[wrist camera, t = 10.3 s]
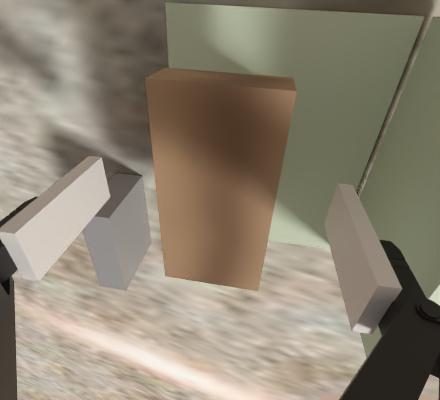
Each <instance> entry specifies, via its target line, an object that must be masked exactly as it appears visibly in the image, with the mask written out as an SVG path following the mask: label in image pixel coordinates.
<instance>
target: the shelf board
mask: <svg viewBox="0 0 440 400" xmlns="http://www.w3.org/2000/svg"><path fill="white" fill-rule="evenodd" d="M145 87H146V96H147V106H148V115H149V125H150V134H151V144H152V153H153V163H154V173H155V182H156V192H157V201H158V211H159V220H160V230H161V239H162V249H163V258H164V268H165V276H168V277H174V278H180V279H186V280H192V281H199V282H205V283H211V284H217V285H223V286H230V287H236V288H242V289H248V290H254V291H258V288H259V283H260V278H261V273H262V267H263V262H264V257H265V252H266V247H267V242H268V237H269V232H270V226H271V221H272V216H273V211H274V206H275V201H276V196H277V190H278V185H279V180H280V175H281V170H282V165H283V160H284V155H285V149H286V144H287V139H288V134H289V129H290V124H291V119H292V114H293V108H294V103H295V98H296V93H297V90H296V86H295V83H294V79H293V78H291V77H278V76H266V75H253V74H240V73H228V72H215V71H202V70H190V69H177V68H163V69H161V70H159V71H157V72H155V73H154V74H152V75H150V76H148V77H146V78H145Z"/></svg>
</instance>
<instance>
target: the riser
mask: <svg viewBox="0 0 440 400" xmlns="http://www.w3.org/2000/svg"><path fill="white" fill-rule="evenodd" d="M107 184H108V188H109V193H110V198H109V199H108V200H107V202H106V203H105V204H104V205H103V206H102V208H101V209H100V210H99V211H98V212H97V213H96V215H95V216H94V217H93V218H92V219H91V220H90V222H89V223H88V224H87V225H86V226H85V228H84V229H83V230H82V231H83V234H84V237H85V241H86V244H87V247H88V250H89V253H90V256H91V259H92V262H93V266H94V269H95V272H96V275H97V278H98V281H99V284H100V286H103V287H109V288H115V289H121V290H127V288H128V286H129V284H130V282H131V280H132V278H133V277H134V275H135V273H136V271H137V269H138V267H139V265H140V263H141V261H142V259H143V257H144V256H145V254H146V252H147V250H148V248H149V246H150V244H151V238H150V230H149V223H148V215H147V208H146V201H145V193H144V186H143V178H142V176H138V175H130V174H122V173H116V174H115V175H114V176H113V177H112V178H111V179H110V180H109V181H108V182H107Z"/></svg>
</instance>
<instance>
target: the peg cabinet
mask: <svg viewBox="0 0 440 400" xmlns="http://www.w3.org/2000/svg"><path fill="white" fill-rule="evenodd" d="M165 12H166V30H167V47H168V65H169V68H177V69H190V70H202V71H215V72H228V73H240V74H253V75H266V76H278V77H291V78H293V79H294V83H295V86H296V90H297V93H296V98H295V103H294V108H293V114H292V119H291V124H290V129H289V134H288V139H287V144H286V149H285V155H284V160H283V165H282V170H281V175H280V180H279V185H278V190H277V196H276V201H275V206H274V211H273V216H272V221H271V226H270V232H269V237H268V241H275V242H282V243H289V244H297V245H304V246H311V247H318V248H325V249H331V248H330V244H329V240H328V237H327V233H326V229H325V225H324V223H325V220H326V217H327V214H328V211H329V208H330V205H331V202H332V199H333V196H334V193H335V190H336V187H337V184H338V183H340V184H349V185H353V186H354V189H355V191H357V188H358V186H359V183H360V181H361V178H362V176H363V173H364V170H365V168H366V165H367V163H368V160H369V158H370V155H371V153H372V150H373V147H374V145H375V142H376V140H377V137H378V135H379V132H380V130H381V127H382V124H383V122H384V119H385V117H386V114H387V112H388V109H389V106H390V104H391V101H392V99H393V96H394V94H395V91H396V89H397V86H398V83H399V81H400V78H401V76H402V73H403V71H404V68H405V66H406V63H407V60H408V58H409V55H410V53H411V50H412V48H413V45H414V43H415V40H416V37H417V35H418V32H419V30H420V27H421V25H422V22H423V20H424V17H425V16H411V15H393V14H374V13H355V12H337V11H318V10H299V9H281V8H262V7H244V6H225V5H206V4H188V3H169V2H165ZM359 199H360V201H361V203H362V205H363V207H364V210H365V212H366V214H367V216H368V218H369V220H370V222H371V224H372V226H373V228H374V230H375V233H376V235H377V237H378V239H379V240H386V241H391V242H392V243H393V244H394V245H396V246H397V247H398V248H399V249H400V250H401V252H402V254H403V256H404V258H405V259H406V260H405V261H406V262H407V263H408V265H409V267H410V269H411V270H412V272H413V274H414V276H415V278H416V280H417V281H418V283H419V285H420V287H421V289H422V290H423V292H424V294H425V296H426V298H427V299H430V300H432V301H434V302H435V303H437V304H438V305H439V306H440V17H433V18H432V20H431V23H430V25H429V28H428V30H427V33H426V35H425V38H424V40H423V43H422V45H421V47H420V50H419V52H418V55H417V57H416V60H415V62H414V65H413V67H412V70H411V72H410V75H409V77H408V80H407V82H406V84H405V87H404V89H403V92H402V94H401V97H400V99H399V102H398V104H397V107H396V109H395V112H394V114H393V117H392V119H391V121H390V124H389V126H388V129H387V131H386V134H385V136H384V139H383V141H382V144H381V146H380V149H379V151H378V154H377V156H376V158H375V161H374V163H373V166H372V168H371V171H370V173H369V176H368V178H367V181H366V183H365V186H364V188H363V191H362V193H361V195H360V198H359ZM360 334H361V338H362V342H363V346H364V349H365V353H366V357H368V356H369V354H370V353H371V351H372V349H373V348H374V347H375V345H376V344H377V342H378V341H379V339H380V338H381V337H382V335H381V332H380V329H379V326H378V327H377V328H376V330H375V331H374V333H373V334H367V333H361V332H360Z"/></svg>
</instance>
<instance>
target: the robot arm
mask: <svg viewBox="0 0 440 400" xmlns="http://www.w3.org/2000/svg"><path fill="white" fill-rule="evenodd" d="M109 198H110V193H109V188H108V184H107V179H106V175H105V170H104V166H103V161H102V157H95V156H88V157H87V158H86V159H84V160H83V161H82V162H81V163H79V164H78V165H77V166H76V167H75V168H73V169H72V170H71V171H70V172H68V173H67V174H66V175H65V176H63V177H62V178H61V179H60V180H59V181H57V182H56V183H55V184H54V185H52V186H51V187H50V188H49V189H47V190H46V191H45V192H44V193H42V194H41V195H40V196H39V197H34V198H32V199H30V200H28V201H26V202H24V203H23V204H22V205H20V206H19V207H18V208H16V210H14V211H13V212H11V213H10V214H9V216H6V217H5V218H4V219H2V220H1V221H0V400H17V373H16V338H15V303H14V281H13V278H12V277H11V276H12V275H13V274H14V273H15V272H16V270H18V272H19V274H20V276H21V277H22V279H26V280H32V281H38V282H39V281H40V279H41V278H42V277H43V276H44V275H45V274H46V272H47V271H48V270H49V269H50V268H51V266H52V265H53V264H54V263H55V262H56V261H57V259H58V258H59V257H60V256H61V255H62V253H63V252H64V251H65V250H66V249H67V248H68V246H69V245H70V244H71V243H72V242H73V241H74V239H75V238H76V237H77V236H78V235H79V233H80V232H81V231H82V230H83V229H84V228H85V226H86V225H87V224H88V223H89V222H90V220H91V219H92V218H93V217H94V216H95V215H96V213H97V212H98V211H99V210H100V209H101V208H102V206H103V205H104V204H105V203H106V202H107V200H108V199H109ZM324 225H325V229H326V233H327V237H328V240H329V244H330V248H331V252H332V256H333V260H334V264H335V268H336V271H337V275H338V279H339V283H340V287H341V291H342V295H343V299H344V303H345V306H346V310H347V314H348V318H349V322H350V326H351V330H352V331H354V332H361V333H367V334H373V333H374V331H375V330H376V328H377V327H378V326H379V329H380V332H381V335H382V337H381V338H380V339H379V341H378V342H377V344H376V345H375V347H374V348H373V349H372V351H371V353H370V354H369V356H368V357H367V359H366V360H365V362H364V363H363V365H362V366H361V368H360V369H359V371H358V372H357V374H356V375H355V377H354V378H353V380H352V381H351V382H350V384H349V385H348V387H347V388H346V390H345V391H344V393H343V394H342V396H341V397H340V399H339V400H418V399H419V396H420V394H421V392H422V390H423V388H424V386H425V383H426V381H427V379H428V377H429V375H430V374H431V375H433V376H436V377H438V378H439V400H440V306H439V305H438V304H437V303H435V302H434V301H432V300H430V299H427V298H426V296H425V294H424V292H423V290H422V289H421V287H420V285H419V283H418V281H417V280H416V278H415V276H414V274H413V272H412V270H411V269H410V267H409V265H408V263H407V262H406V261H405V260H406V259H405V258H404V256H403V254H402V252H401V250H400V249H399V248H398V247H397V246H396V245H394V244H393V243H392V242H391V241H386V240H379V239H378V237H377V235H376V233H375V230H374V228H373V226H372V224H371V222H370V220H369V218H368V216H367V214H366V212H365V210H364V207H363V205H362V203H361V201H360V199H359V197H358V195H357V193H356V191H355V189H354V186H353V185H349V184H340V183H338V184H337V187H336V190H335V193H334V196H333V199H332V202H331V205H330V208H329V211H328V214H327V217H326V220H325V223H324Z"/></svg>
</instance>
